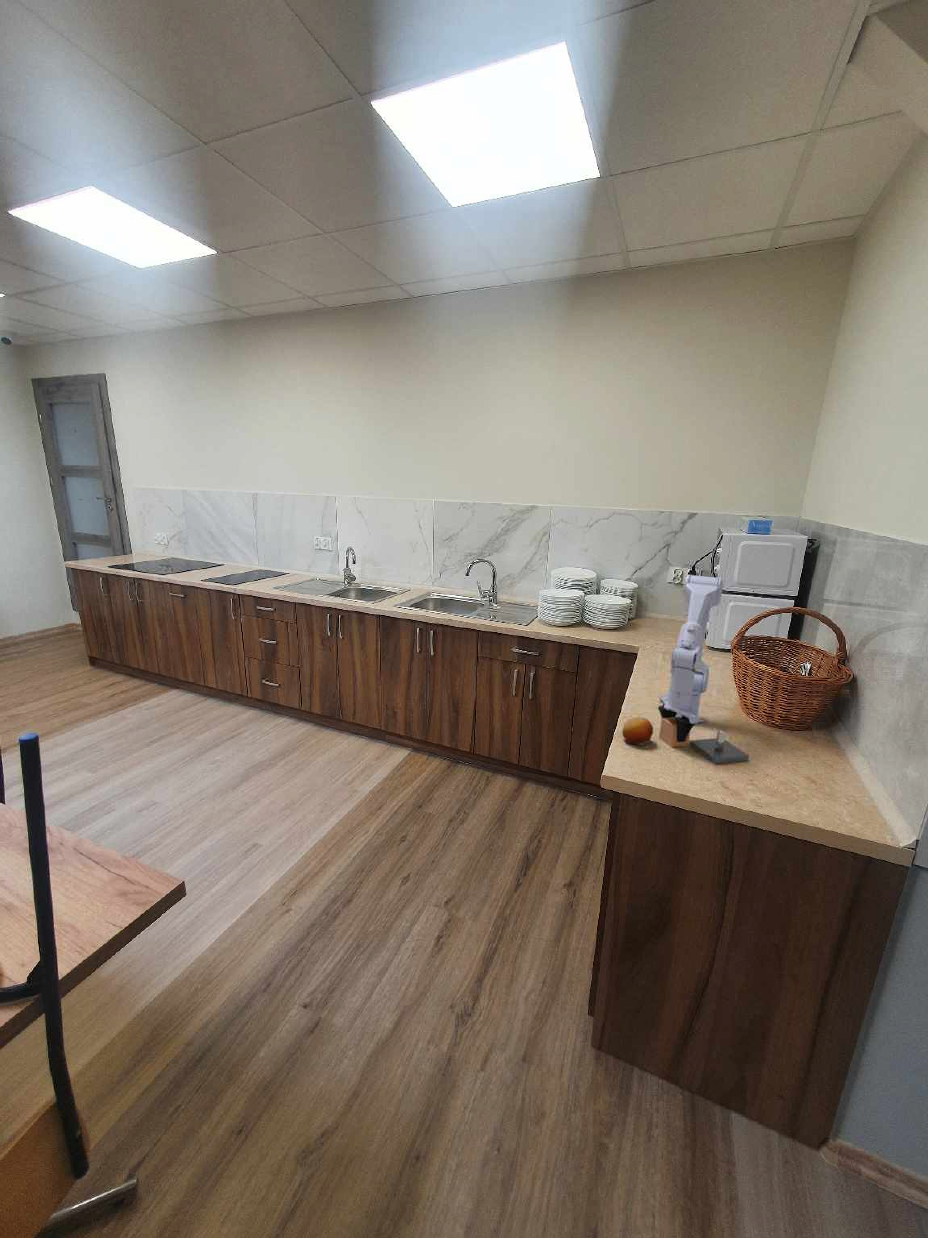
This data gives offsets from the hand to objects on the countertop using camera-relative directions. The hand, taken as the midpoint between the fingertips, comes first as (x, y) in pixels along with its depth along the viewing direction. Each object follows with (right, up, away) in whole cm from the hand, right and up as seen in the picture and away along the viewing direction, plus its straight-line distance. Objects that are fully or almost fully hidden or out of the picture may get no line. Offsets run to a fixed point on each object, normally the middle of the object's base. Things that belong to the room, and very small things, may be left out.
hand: (674, 736), depth 141 cm
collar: (0, -2, 0) cm, 2 cm away
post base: (+10, -3, -5) cm, 11 cm away
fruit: (-10, -2, 0) cm, 11 cm away
